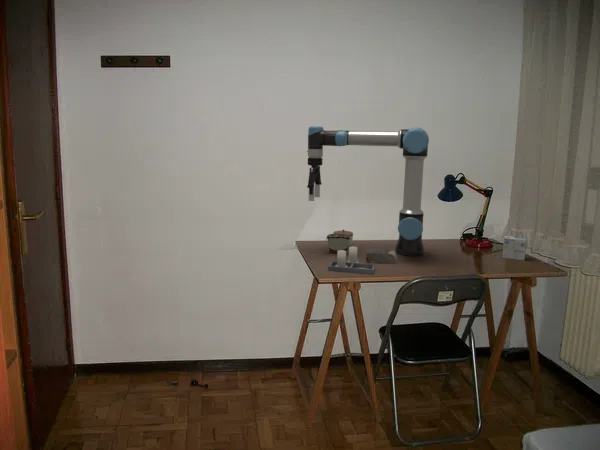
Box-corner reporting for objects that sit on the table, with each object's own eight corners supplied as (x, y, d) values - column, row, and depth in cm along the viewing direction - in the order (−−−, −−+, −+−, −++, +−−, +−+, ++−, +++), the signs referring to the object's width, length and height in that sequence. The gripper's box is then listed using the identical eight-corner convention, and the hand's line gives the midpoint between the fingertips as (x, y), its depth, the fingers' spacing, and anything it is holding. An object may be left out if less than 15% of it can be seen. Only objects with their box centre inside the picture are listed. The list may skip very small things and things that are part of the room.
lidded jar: (353, 248, 273) (354, 231, 271) (333, 248, 273) (334, 231, 271) (351, 244, 284) (352, 227, 282) (332, 243, 284) (333, 227, 282)
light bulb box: (524, 257, 260) (527, 237, 258) (524, 260, 254) (526, 239, 252) (502, 255, 264) (504, 235, 262) (501, 258, 258) (503, 237, 256)
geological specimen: (365, 247, 256) (395, 247, 255) (365, 259, 257) (395, 259, 256) (366, 252, 245) (398, 251, 244) (367, 264, 246) (398, 264, 245)
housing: (374, 268, 237) (375, 251, 235) (372, 274, 227) (373, 256, 226) (331, 264, 241) (332, 248, 240) (328, 270, 232) (328, 252, 230)
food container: (349, 252, 266) (350, 233, 264) (349, 255, 259) (350, 236, 258) (326, 251, 267) (326, 232, 265) (325, 254, 261) (326, 235, 259)
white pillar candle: (359, 262, 247) (359, 246, 245) (357, 265, 241) (358, 249, 240) (347, 261, 248) (348, 245, 246) (346, 264, 243) (346, 248, 241)
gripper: (313, 155, 269) (312, 195, 273) (302, 158, 245) (301, 202, 249) (327, 156, 267) (326, 196, 271) (317, 159, 243) (316, 202, 247)
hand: (314, 199), depth 260 cm, fingers open, 13 cm apart
